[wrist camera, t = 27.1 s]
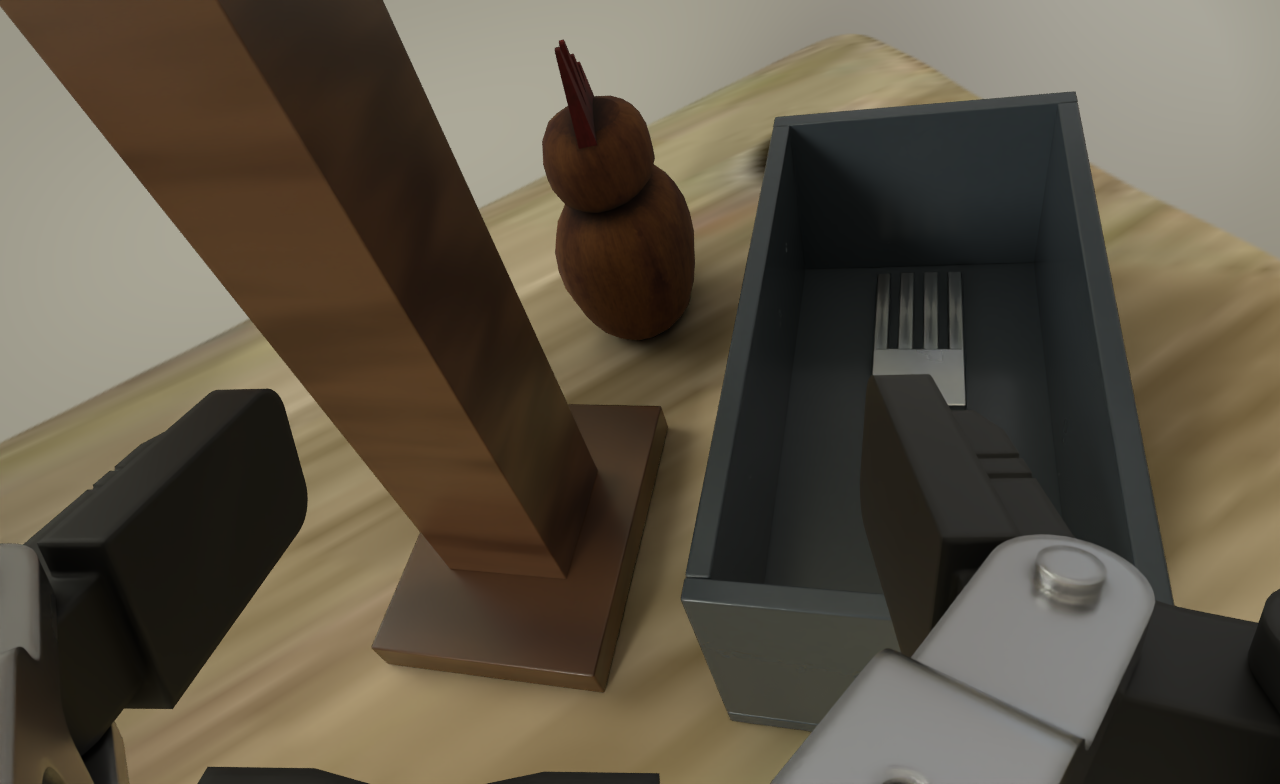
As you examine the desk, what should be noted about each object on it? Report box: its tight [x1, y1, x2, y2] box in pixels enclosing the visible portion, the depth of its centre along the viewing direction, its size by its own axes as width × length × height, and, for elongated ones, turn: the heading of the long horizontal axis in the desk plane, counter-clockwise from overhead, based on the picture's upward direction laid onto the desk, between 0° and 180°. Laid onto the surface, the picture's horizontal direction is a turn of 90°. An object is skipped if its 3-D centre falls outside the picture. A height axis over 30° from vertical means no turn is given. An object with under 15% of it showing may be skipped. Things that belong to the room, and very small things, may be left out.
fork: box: [871, 272, 967, 410], centre depth 32 cm, size 19×4×1 cm, turn 168°
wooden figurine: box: [542, 40, 695, 340], centre depth 37 cm, size 7×6×15 cm
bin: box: [681, 92, 1174, 732], centre depth 30 cm, size 22×11×9 cm, turn 168°
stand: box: [0, 0, 668, 692], centre depth 23 cm, size 12×9×32 cm
